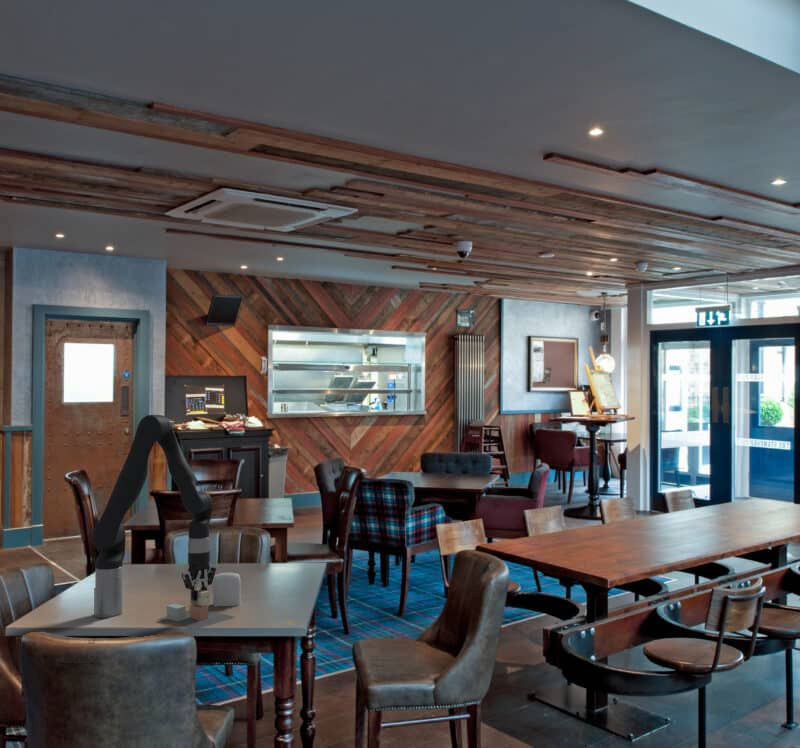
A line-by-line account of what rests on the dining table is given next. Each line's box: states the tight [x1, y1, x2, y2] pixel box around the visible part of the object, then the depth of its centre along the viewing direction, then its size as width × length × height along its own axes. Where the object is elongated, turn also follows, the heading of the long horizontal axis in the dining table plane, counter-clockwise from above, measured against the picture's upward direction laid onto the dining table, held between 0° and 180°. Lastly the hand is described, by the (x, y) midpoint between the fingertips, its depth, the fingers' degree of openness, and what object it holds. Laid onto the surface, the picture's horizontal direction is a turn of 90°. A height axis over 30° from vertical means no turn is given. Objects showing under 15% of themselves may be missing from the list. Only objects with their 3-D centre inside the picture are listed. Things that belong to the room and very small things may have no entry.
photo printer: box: [212, 572, 242, 607], centre depth 296 cm, size 10×4×12 cm, turn 95°
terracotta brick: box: [188, 604, 209, 621], centre depth 279 cm, size 6×3×4 cm, turn 53°
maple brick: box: [189, 588, 210, 606], centre depth 278 cm, size 6×3×4 cm, turn 53°
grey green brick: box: [166, 603, 186, 622], centre depth 277 cm, size 6×3×4 cm, turn 53°
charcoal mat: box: [157, 609, 235, 631], centre depth 278 cm, size 20×18×1 cm
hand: (199, 599), depth 279 cm, fingers closed on maple brick, 3 cm apart
